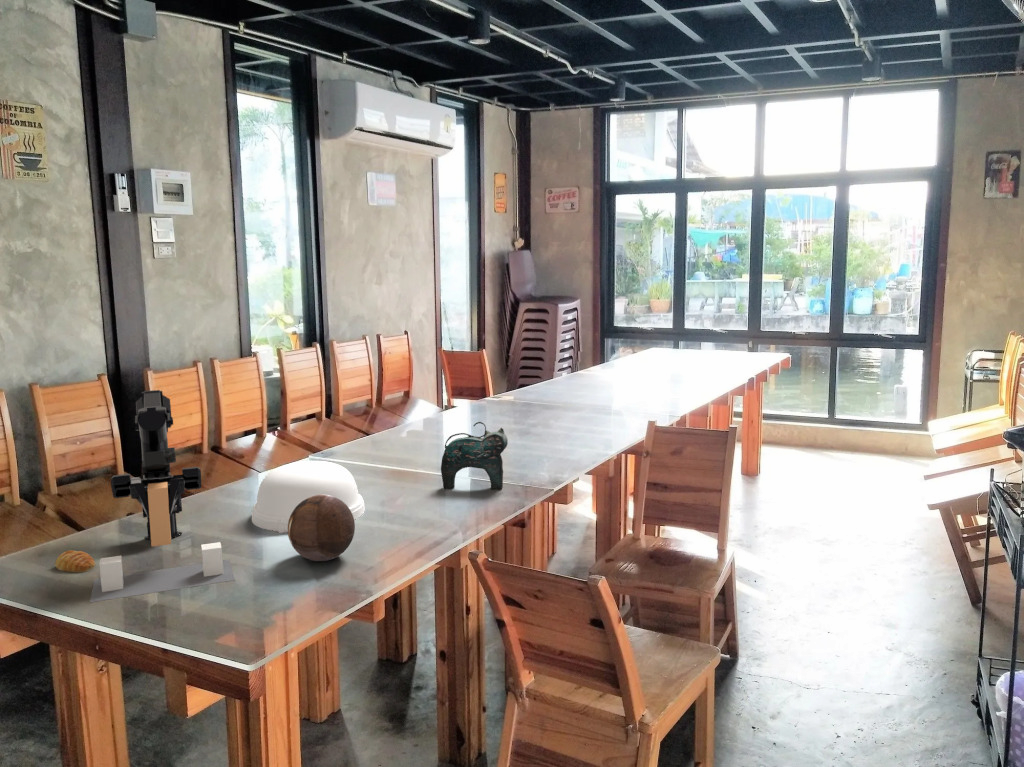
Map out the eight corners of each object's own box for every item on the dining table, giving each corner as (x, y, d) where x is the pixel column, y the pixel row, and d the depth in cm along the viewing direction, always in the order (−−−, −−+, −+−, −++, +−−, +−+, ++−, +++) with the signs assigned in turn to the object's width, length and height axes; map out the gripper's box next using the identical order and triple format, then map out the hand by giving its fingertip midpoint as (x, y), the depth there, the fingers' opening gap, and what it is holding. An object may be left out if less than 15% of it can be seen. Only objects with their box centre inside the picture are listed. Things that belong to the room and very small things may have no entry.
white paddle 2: (203, 570, 189) (201, 544, 188) (222, 567, 191) (220, 542, 190) (204, 576, 186) (202, 550, 185) (223, 573, 187) (221, 547, 186)
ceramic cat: (508, 485, 257) (507, 420, 254) (506, 491, 251) (505, 424, 248) (443, 485, 259) (441, 420, 256) (439, 490, 253) (437, 424, 250)
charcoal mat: (94, 581, 186) (94, 579, 186) (229, 561, 196) (229, 559, 196) (90, 604, 173) (89, 602, 173) (234, 582, 183) (234, 580, 183)
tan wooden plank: (151, 539, 193) (148, 483, 191) (170, 537, 195) (167, 481, 193) (151, 546, 188) (147, 489, 187) (171, 544, 190) (167, 487, 188)
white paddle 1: (103, 585, 182) (100, 558, 181) (123, 582, 183) (121, 555, 182) (102, 591, 178) (99, 564, 177) (123, 588, 180) (120, 561, 179)
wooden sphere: (360, 547, 204) (357, 486, 202) (351, 569, 189) (347, 504, 187) (297, 549, 204) (293, 488, 202) (282, 572, 189) (278, 506, 187)
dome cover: (333, 537, 213) (331, 482, 211) (227, 530, 220) (223, 477, 218) (383, 501, 244) (381, 453, 242) (288, 496, 251) (285, 449, 249)
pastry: (104, 568, 194) (102, 552, 194) (76, 578, 188) (74, 561, 188) (79, 561, 199) (78, 546, 198) (51, 571, 193) (49, 555, 193)
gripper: (107, 440, 188) (109, 501, 180) (197, 432, 195) (203, 491, 187) (112, 467, 197) (114, 527, 188) (198, 458, 204) (204, 516, 195)
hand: (159, 514), depth 189 cm, fingers closed on tan wooden plank, 4 cm apart
